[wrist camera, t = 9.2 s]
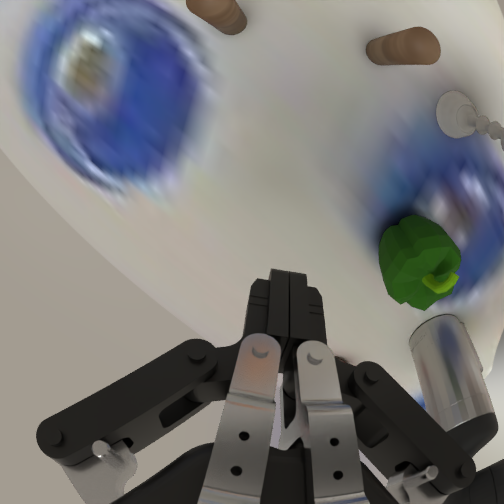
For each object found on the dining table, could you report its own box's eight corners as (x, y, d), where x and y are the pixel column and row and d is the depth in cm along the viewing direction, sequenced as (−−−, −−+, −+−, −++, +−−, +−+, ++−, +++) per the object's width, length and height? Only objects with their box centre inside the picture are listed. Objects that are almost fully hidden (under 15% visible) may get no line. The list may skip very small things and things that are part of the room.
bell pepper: (388, 278, 33) (411, 342, 25) (357, 231, 30) (381, 295, 21) (444, 244, 29) (481, 301, 21) (421, 190, 26) (467, 242, 18)
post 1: (248, 10, 18) (232, -19, 11) (244, 36, 20) (226, 16, 12) (219, 8, 18) (189, -19, 11) (215, 33, 20) (182, 16, 12)
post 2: (394, 44, 18) (442, 37, 11) (390, 69, 20) (437, 70, 12) (368, 35, 18) (407, 20, 11) (363, 60, 20) (402, 55, 12)
